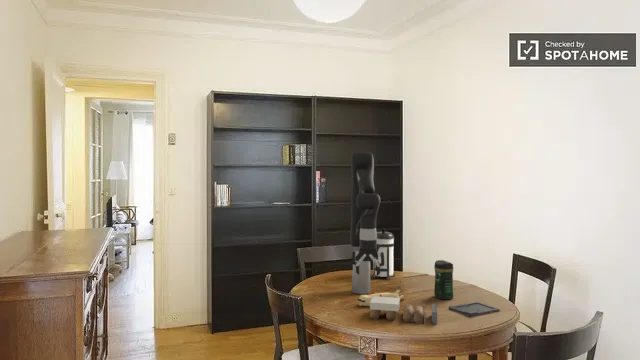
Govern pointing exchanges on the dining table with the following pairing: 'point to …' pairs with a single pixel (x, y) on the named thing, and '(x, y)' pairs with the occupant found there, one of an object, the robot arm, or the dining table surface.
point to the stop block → (434, 313)
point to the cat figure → (367, 299)
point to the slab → (385, 303)
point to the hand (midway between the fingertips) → (368, 274)
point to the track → (391, 315)
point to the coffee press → (386, 246)
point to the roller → (418, 314)
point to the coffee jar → (443, 279)
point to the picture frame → (473, 309)
